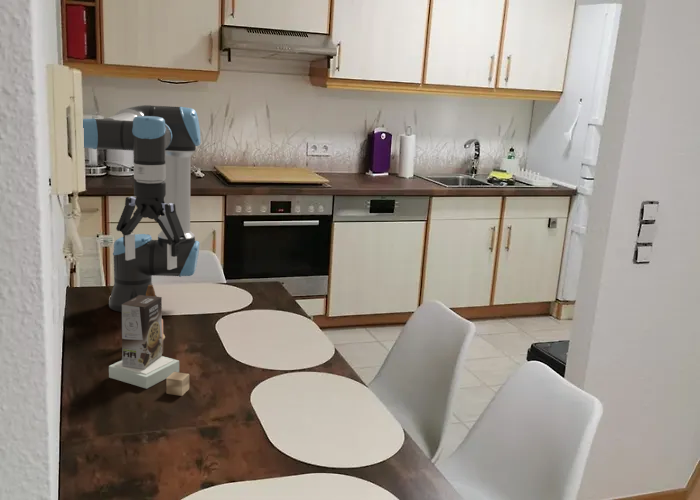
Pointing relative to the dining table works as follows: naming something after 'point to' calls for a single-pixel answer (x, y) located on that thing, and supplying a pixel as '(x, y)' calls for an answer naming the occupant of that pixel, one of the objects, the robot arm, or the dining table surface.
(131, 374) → the podium
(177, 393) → the beech block
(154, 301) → the coffee box
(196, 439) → the dining table surface
